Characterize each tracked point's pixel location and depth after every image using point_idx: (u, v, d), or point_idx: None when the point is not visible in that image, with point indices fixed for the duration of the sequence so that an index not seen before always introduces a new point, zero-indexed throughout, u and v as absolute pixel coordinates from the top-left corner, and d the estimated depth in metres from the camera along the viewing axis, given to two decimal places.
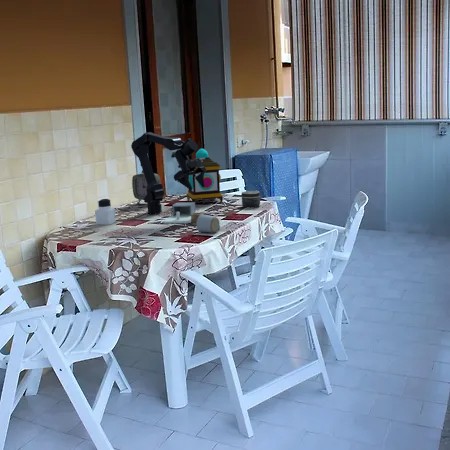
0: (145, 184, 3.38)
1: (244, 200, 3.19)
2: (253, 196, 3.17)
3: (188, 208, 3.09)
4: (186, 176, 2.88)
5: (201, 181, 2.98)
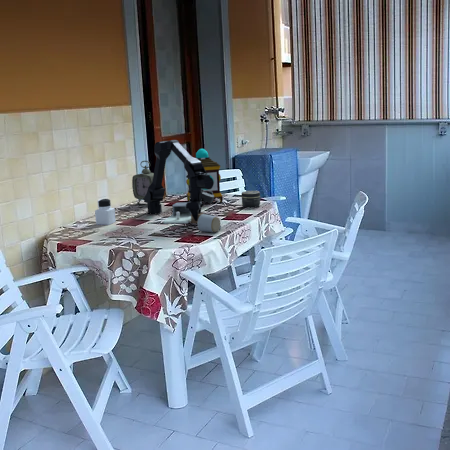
0: (145, 184, 3.38)
1: (244, 200, 3.19)
2: (253, 196, 3.17)
3: None
4: (199, 208, 2.84)
5: (198, 212, 2.92)
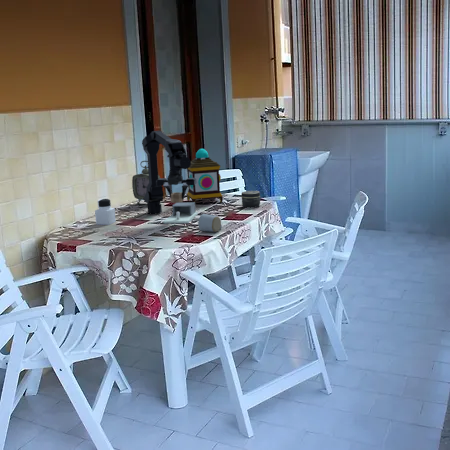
0: (145, 184, 3.38)
1: (244, 200, 3.19)
2: (253, 196, 3.17)
3: (188, 208, 3.09)
4: (166, 187, 2.89)
5: None
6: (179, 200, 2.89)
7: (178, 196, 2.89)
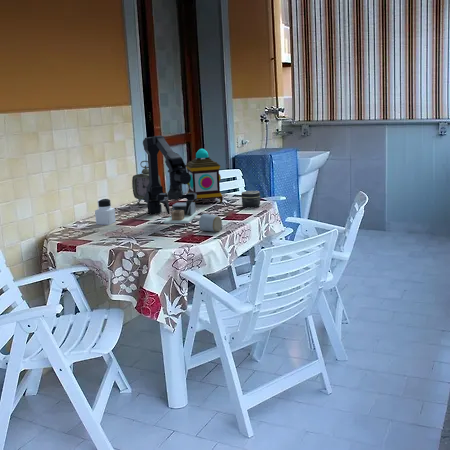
0: (145, 184, 3.38)
1: (244, 200, 3.19)
2: (253, 196, 3.17)
3: None
4: (162, 202, 2.91)
5: None
6: (180, 218, 2.91)
7: (179, 214, 2.91)
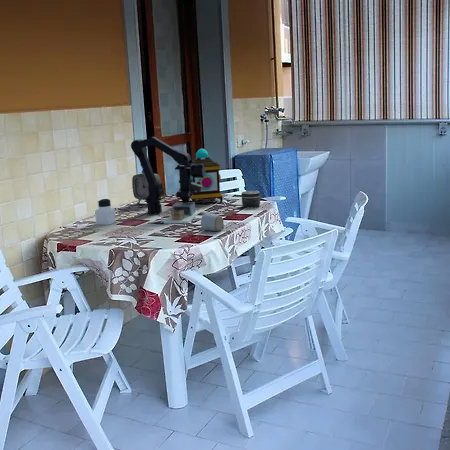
0: (145, 184, 3.38)
1: (244, 200, 3.19)
2: (253, 196, 3.17)
3: (188, 208, 3.08)
4: (190, 196, 3.08)
5: None
6: (180, 218, 2.91)
7: (179, 214, 2.91)
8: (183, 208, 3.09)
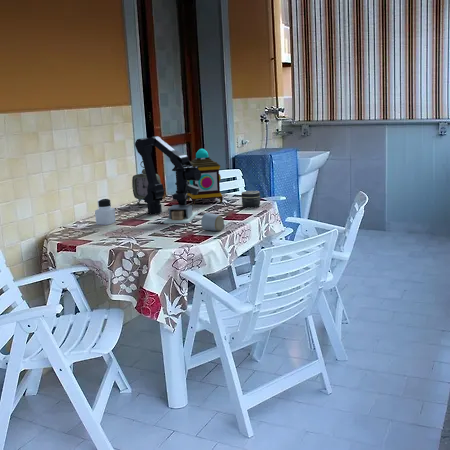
0: (145, 184, 3.38)
1: (244, 200, 3.19)
2: (253, 196, 3.17)
3: (185, 211, 3.02)
4: (187, 198, 3.01)
5: None
6: (180, 218, 2.91)
7: (179, 214, 2.91)
8: None
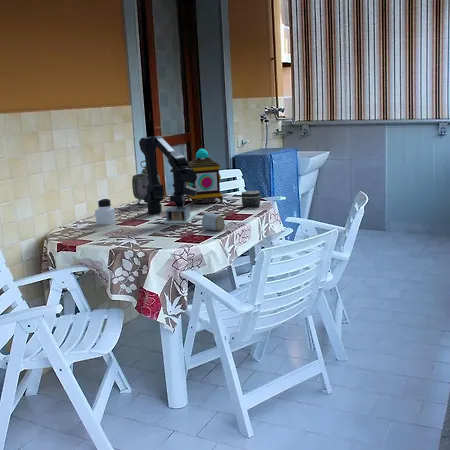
0: (145, 184, 3.38)
1: (244, 200, 3.19)
2: (253, 196, 3.17)
3: None
4: (184, 200, 2.97)
5: None
6: (180, 218, 2.91)
7: (179, 214, 2.91)
8: None
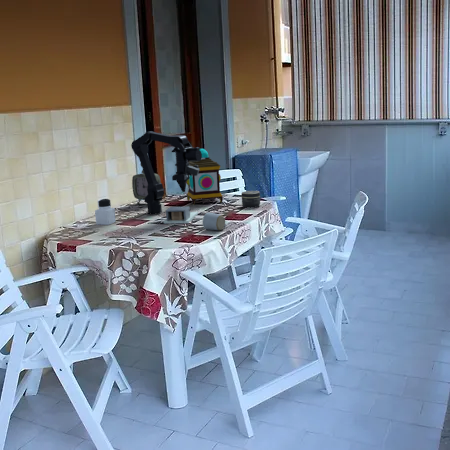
0: (145, 184, 3.38)
1: (244, 200, 3.19)
2: (253, 196, 3.17)
3: None
4: (186, 180, 3.01)
5: None
6: (180, 218, 2.91)
7: (179, 214, 2.91)
8: None
